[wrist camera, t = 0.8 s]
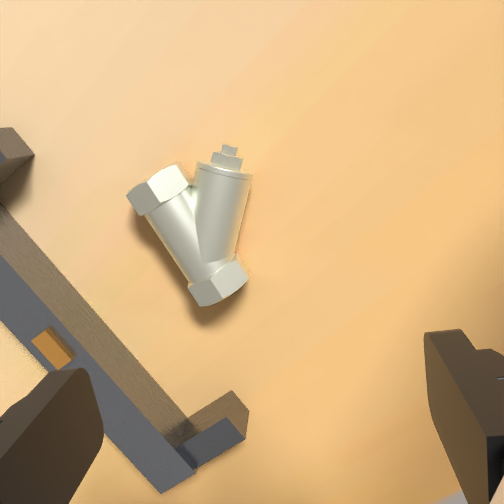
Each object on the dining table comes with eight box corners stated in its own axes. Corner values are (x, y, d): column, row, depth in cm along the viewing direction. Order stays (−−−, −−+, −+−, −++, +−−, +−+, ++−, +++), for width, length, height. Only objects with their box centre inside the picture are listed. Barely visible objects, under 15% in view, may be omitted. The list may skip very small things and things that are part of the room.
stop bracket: (12, 127, 29) (-29, 129, 25) (249, 411, 33) (244, 448, 30) (-63, 195, 31) (-112, 206, 27) (173, 457, 35) (159, 498, 31)
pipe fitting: (229, 130, 29) (136, 188, 30) (224, 129, 25) (119, 195, 26) (295, 240, 30) (206, 292, 31) (300, 256, 27) (199, 314, 28)
